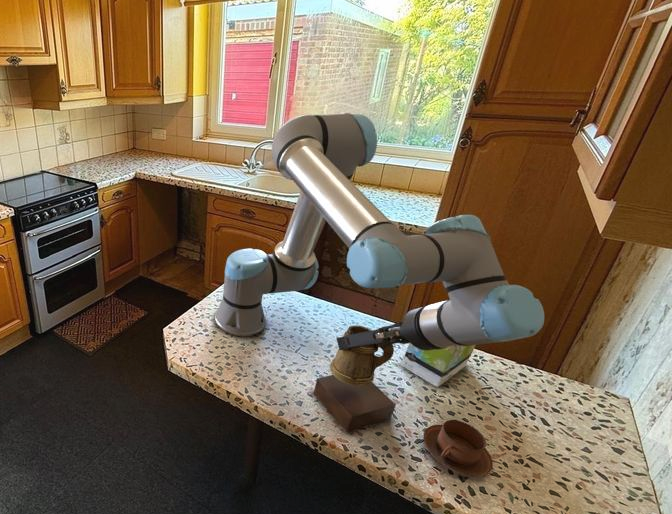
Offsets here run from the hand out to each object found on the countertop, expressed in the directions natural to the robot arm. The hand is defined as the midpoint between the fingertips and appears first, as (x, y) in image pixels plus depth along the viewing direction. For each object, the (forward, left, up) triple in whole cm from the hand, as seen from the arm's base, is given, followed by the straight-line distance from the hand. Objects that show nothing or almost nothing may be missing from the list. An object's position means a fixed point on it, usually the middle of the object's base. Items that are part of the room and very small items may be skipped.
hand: (358, 341), depth 90 cm
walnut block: (+3, 0, -17) cm, 17 cm away
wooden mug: (+3, 0, -8) cm, 9 cm away
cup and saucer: (+20, +12, -17) cm, 29 cm away
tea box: (-2, +31, -17) cm, 35 cm away
